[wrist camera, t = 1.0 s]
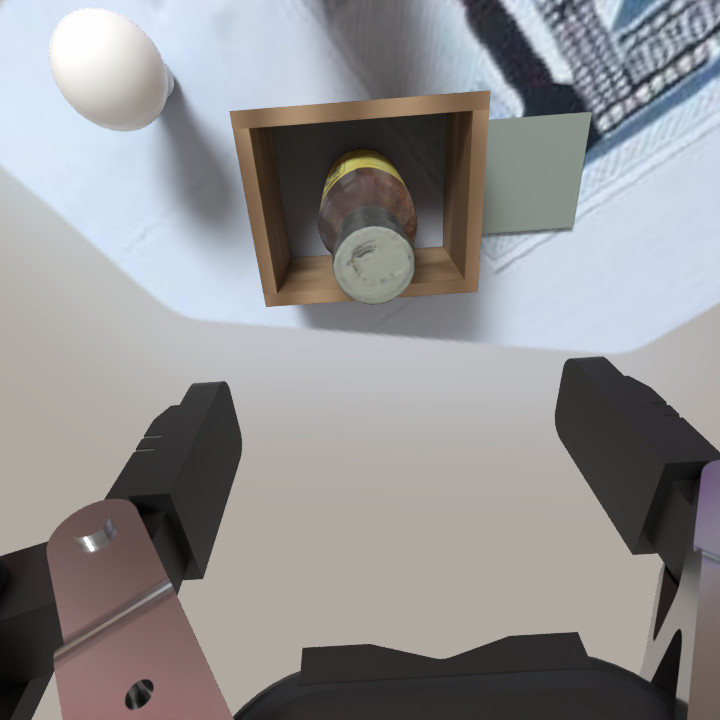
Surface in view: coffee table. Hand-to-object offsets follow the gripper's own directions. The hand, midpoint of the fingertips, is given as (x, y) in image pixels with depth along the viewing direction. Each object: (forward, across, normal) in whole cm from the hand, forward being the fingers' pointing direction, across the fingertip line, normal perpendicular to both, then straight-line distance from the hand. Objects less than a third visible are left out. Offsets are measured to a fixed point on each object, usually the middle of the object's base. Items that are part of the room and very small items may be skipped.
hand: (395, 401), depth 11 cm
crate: (+32, 0, 0) cm, 32 cm away
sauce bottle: (+32, 0, 0) cm, 32 cm away
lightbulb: (+32, +15, -9) cm, 36 cm away
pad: (+32, -14, 0) cm, 35 cm away
